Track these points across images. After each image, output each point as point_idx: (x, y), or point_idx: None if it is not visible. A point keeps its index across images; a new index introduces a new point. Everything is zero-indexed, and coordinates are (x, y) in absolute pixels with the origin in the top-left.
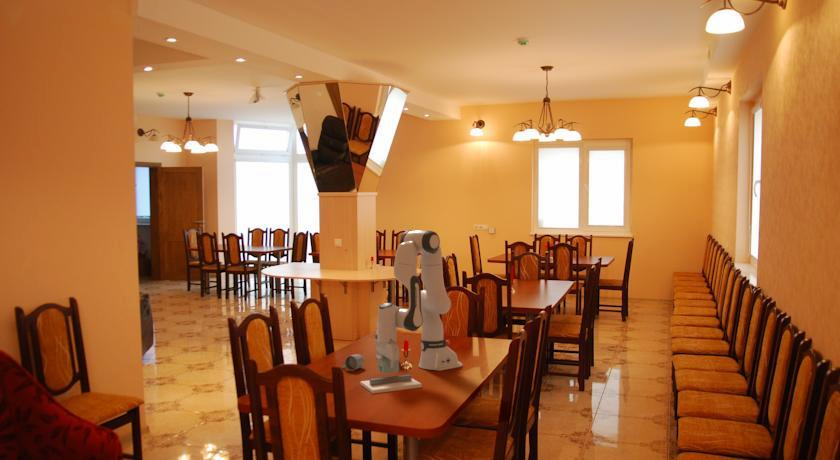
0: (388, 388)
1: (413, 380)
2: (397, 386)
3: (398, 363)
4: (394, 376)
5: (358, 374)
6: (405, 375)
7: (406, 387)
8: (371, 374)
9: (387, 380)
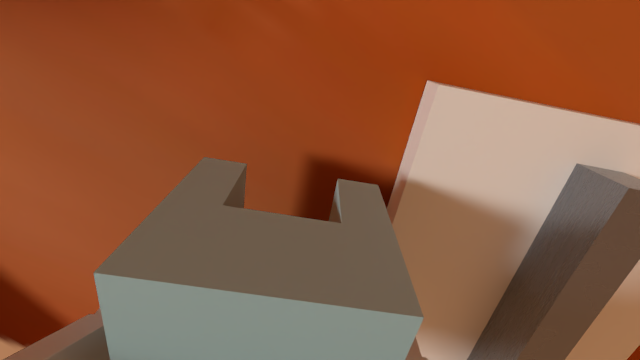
0: None
1: (635, 150)
2: (624, 345)
3: (400, 254)
4: (539, 343)
5: (67, 325)
6: (616, 252)
7: None
8: (103, 259)
9: None
